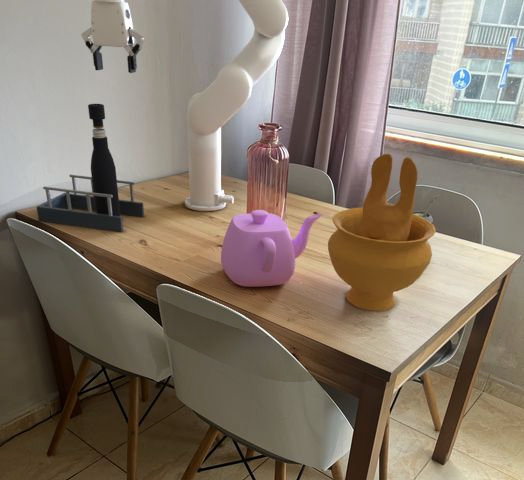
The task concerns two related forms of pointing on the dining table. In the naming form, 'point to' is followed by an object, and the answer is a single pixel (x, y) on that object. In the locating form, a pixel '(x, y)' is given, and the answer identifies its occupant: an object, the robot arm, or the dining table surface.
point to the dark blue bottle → (102, 164)
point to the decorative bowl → (381, 240)
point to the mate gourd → (425, 214)
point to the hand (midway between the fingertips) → (115, 71)
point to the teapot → (262, 248)
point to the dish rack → (86, 208)
